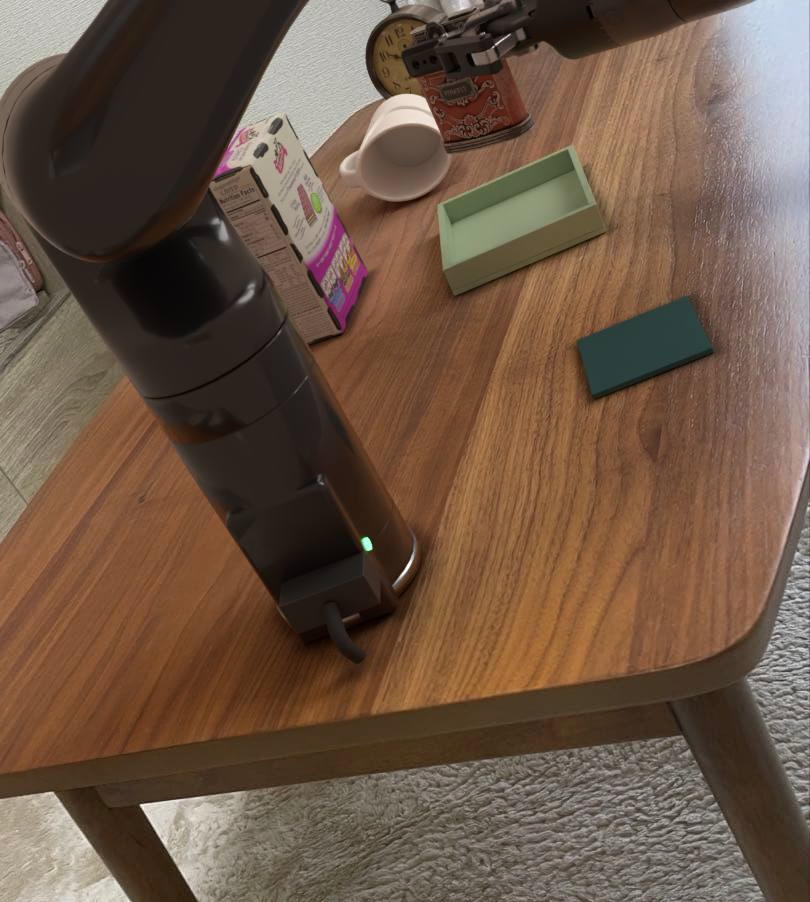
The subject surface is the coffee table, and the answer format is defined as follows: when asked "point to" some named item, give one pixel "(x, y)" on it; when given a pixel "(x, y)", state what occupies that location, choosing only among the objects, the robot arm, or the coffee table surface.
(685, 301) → the mat
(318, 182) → the candy bar box
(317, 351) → the coffee table surface
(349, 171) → the mug
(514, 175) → the tray
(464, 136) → the lighter
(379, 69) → the alarm clock
